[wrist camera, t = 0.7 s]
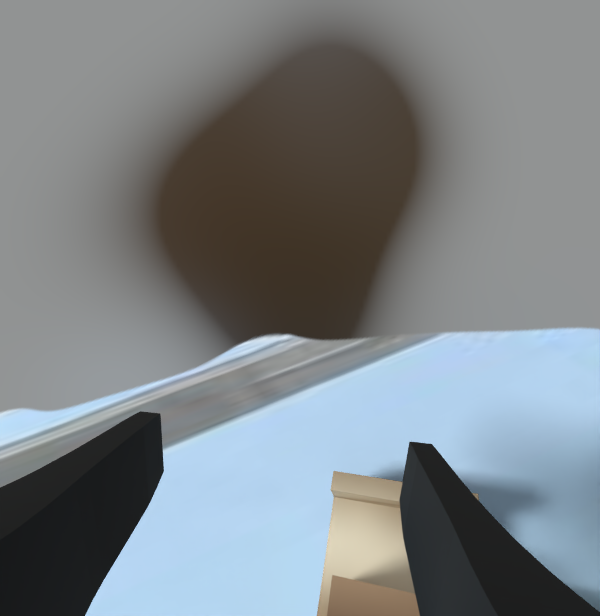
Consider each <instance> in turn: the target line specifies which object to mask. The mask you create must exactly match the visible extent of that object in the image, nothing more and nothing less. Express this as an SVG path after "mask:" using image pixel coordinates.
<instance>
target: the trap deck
mask: <svg viewBox="0 0 600 616" xmlns="http://www.w3.org/2000/svg"><path fill="white" fill-rule="evenodd" d="M401 488H402V482H400V481H394V480H387V479H381V478H375V477H368V476H362V475H356V474H349V473H343V472H337V471H334V472H333V479H332V485H331V491H332V494H333V496H334V500H333V507H332V514H331V521H330V528H329V535H328V542H327V549H326V556H325V563H324V570H323V577H322V584H321V591H320V598H319V605H318V612H317V616H327V611H328V603H329V596H330V588H331V581H332V575H335V576H339V577H344V578H348V579H353V580H357V581H361V582H366V583H370V584H374V585H379V586H383V587H388V588H392V589H396V590H401V591H405V592H409V593H414V594H415V591H414V586H413V581H412V577H411V572H410V568H409V563H408V558H407V554H406V549H405V544H404V539H403V532H402V523H401V512H400V501H399V499H400V494H401ZM472 494H473V495H474V496H475V497H476V498H477V500H478V501H479V497H478V494H475V493H472Z"/></svg>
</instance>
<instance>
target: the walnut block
mask: <svg viewBox="0 0 600 616" xmlns="http://www.w3.org/2000/svg"><path fill="white" fill-rule="evenodd" d="M327 616H420V614H419V609H418V604H417V600H416V595H415V594H414V593H409V592H405V591H401V590H396V589H392V588H388V587H383V586H379V585H374V584H370V583H366V582H361V581H357V580H353V579H348V578H344V577H339V576H335V575H332V581H331V588H330V596H329V603H328V611H327Z"/></svg>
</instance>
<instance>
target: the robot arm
mask: <svg viewBox="0 0 600 616" xmlns="http://www.w3.org/2000/svg"><path fill="white" fill-rule="evenodd" d="M163 472H164V466H163V450H162V433H161V417H160V414H158V413H149V412H139V413H137V414H135V415H133V416H131V417H129V418H128V419H126V420H124V421H122V422H121V423H119V424H117V425H116V426H114V427H112V428H111V429H109V430H107V431H106V432H104V433H102V434H101V435H99V436H97V437H96V438H94V439H92V440H90V441H89V442H87V443H85V444H84V445H82V446H80V447H79V448H77V449H75V450H73V451H71V452H70V453H68V454H66V455H64V456H62V457H60V458H59V459H57V460H55V461H53V462H51V463H49V464H48V465H46V466H44V467H42V468H40V469H38V470H36V471H34V472H32V473H30V474H28V475H26V476H24V477H22V478H20V479H18V480H16V481H14V482H12V483H10V484H7V485H5V486H3V487H1V488H0V616H85V614H86V612H87V610H88V608H89V606H90V604H91V602H92V600H93V598H94V596H95V595H96V593H97V591H98V589H99V587H100V586H101V584H102V582H103V580H104V579H105V577H106V575H107V574H108V572H109V570H110V569H111V567H112V565H113V564H114V562H115V560H116V559H117V557H118V555H119V554H120V552H121V550H122V549H123V547H124V546H125V544H126V542H127V541H128V539H129V537H130V536H131V534H132V532H133V531H134V529H135V527H136V526H137V524H138V522H139V521H140V519H141V517H142V515H143V514H144V512H145V510H146V509H147V507H148V505H149V503H150V501H151V499H152V497H153V495H154V492H155V490H156V488H157V486H158V483H159V481H160V479H161V476H162V474H163ZM399 501H400V512H401V523H402V532H403V539H404V544H405V549H406V554H407V558H408V563H409V568H410V572H411V577H412V581H413V586H414V591H415V595H416V600H417V604H418V609H419V614H420V616H600V612H599V611H598V610H596V609H595V608H594V607H592V606H591V605H590V604H589V603H587V602H586V601H585V600H584V599H583V598H581V597H580V596H579V595H578V594H576V593H575V592H574V591H573V590H571V589H570V588H569V587H568V586H566V585H565V584H564V583H563V582H562V581H560V580H559V579H558V578H557V577H556V576H555V575H553V574H552V573H551V572H550V571H549V570H548V569H547V568H545V567H544V566H543V565H542V564H541V563H540V562H539V561H538V560H537V559H536V558H534V557H533V556H532V555H531V554H530V553H529V552H528V551H527V550H526V549H525V548H524V547H522V546H521V545H520V544H519V543H518V542H517V541H516V540H515V539H514V538H513V537H512V536H511V535H510V534H509V533H508V532H507V531H506V530H505V529H504V528H503V527H502V526H501V524H500V523H499V522H498V521H497V520H496V519H495V518H494V517H493V516H492V515H491V514H490V513H489V512H488V511H487V510H486V509H485V507H484V506H483V505H482V504H481V503H480V502H479V501H478V500H477V498H476V497H475V496H474V495H473V494H472V493H471V492H470V490H469V489H468V488H467V487H466V486H465V484H464V483H463V482H462V481H461V480H460V478H459V477H458V476H457V475H456V473H455V472H454V471H453V470H452V468H451V467H450V466H449V465H448V463H447V462H446V461H445V460H444V458H443V457H442V456H441V455H440V453H439V452H438V451H437V450H436V449H435V447H434V446H433V445H432V444H426V443H417V442H410V443H409V448H408V454H407V460H406V465H405V471H404V477H403V482H402V488H401V494H400V499H399Z"/></svg>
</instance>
